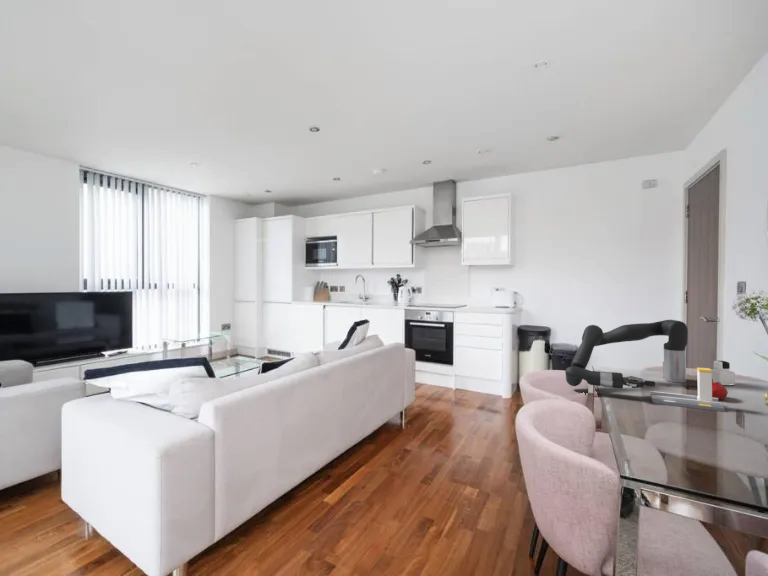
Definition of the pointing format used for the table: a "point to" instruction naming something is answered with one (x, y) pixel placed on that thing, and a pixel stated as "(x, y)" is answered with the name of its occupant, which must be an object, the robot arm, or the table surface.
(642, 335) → the robot arm
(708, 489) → the table surface
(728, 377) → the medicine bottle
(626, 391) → the table surface
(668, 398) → the switch plate
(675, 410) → the table surface
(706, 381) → the switch tab
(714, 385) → the red round fruit
